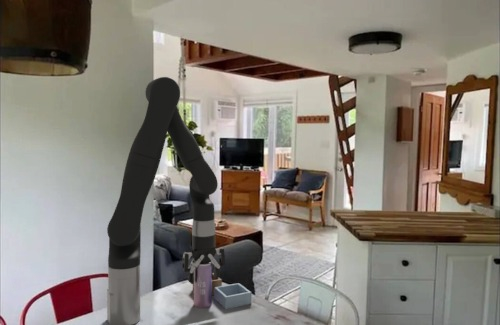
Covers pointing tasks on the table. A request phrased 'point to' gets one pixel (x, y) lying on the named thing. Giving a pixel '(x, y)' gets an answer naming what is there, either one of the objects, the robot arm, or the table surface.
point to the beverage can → (203, 285)
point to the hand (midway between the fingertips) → (204, 281)
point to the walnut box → (214, 283)
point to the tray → (232, 295)
